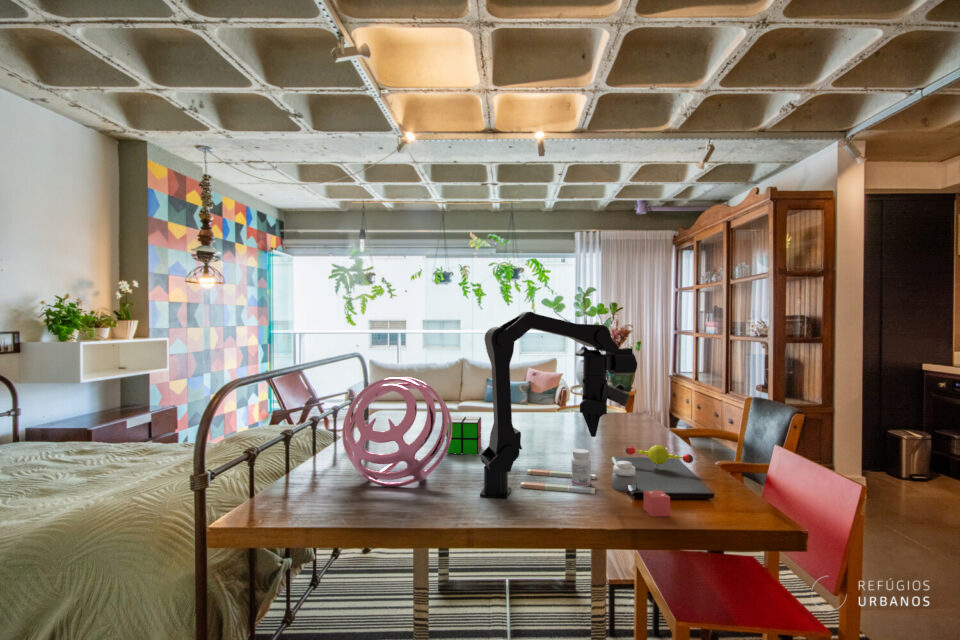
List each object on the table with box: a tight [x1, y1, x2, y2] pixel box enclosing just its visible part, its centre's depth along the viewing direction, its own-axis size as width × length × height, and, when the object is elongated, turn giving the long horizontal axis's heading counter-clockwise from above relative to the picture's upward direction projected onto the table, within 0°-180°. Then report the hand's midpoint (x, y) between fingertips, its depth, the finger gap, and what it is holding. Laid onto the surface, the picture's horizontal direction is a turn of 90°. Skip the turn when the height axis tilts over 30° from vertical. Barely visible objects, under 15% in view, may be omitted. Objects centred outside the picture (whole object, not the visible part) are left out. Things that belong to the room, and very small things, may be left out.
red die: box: [643, 490, 671, 518], centre depth 105 cm, size 4×4×4 cm
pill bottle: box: [571, 448, 592, 487], centre depth 123 cm, size 5×5×8 cm
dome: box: [612, 460, 636, 476], centre depth 121 cm, size 5×5×2 cm
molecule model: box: [625, 444, 694, 465], centre depth 136 cm, size 18×6×7 cm, turn 58°
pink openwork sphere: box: [341, 376, 452, 488], centre depth 127 cm, size 28×28×27 cm
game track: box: [519, 468, 638, 495], centre depth 124 cm, size 13×28×3 cm, turn 76°
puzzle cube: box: [445, 415, 482, 455], centre depth 156 cm, size 10×10×10 cm
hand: (593, 436), depth 123 cm, fingers closed
